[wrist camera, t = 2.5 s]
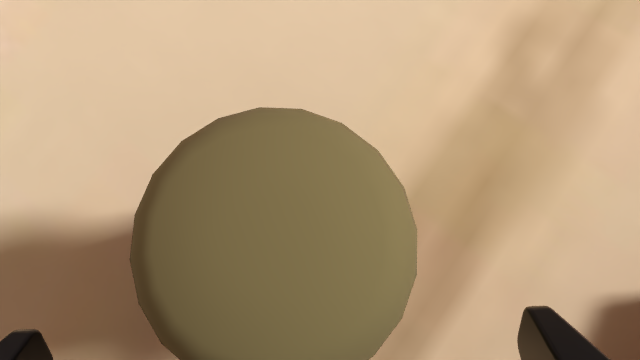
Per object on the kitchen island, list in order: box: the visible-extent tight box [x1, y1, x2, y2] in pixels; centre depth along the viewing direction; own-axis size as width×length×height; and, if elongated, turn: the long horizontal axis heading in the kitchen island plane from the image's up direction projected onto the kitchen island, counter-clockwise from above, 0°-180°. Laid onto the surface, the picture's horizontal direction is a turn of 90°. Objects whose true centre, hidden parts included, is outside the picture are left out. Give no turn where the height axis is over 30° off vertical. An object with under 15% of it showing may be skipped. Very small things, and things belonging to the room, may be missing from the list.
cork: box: [130, 108, 417, 360], centre depth 14 cm, size 6×6×11 cm
